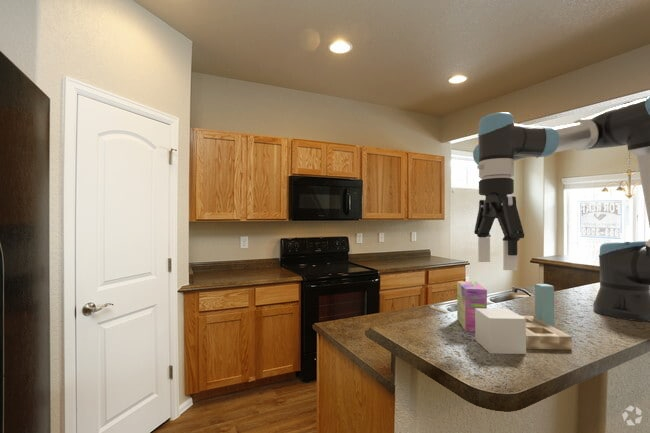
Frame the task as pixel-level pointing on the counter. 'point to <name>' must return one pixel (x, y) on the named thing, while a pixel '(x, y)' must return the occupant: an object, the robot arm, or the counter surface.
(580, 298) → the counter surface
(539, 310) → the peg
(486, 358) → the counter surface
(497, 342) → the white cube
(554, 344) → the socket board
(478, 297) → the box
